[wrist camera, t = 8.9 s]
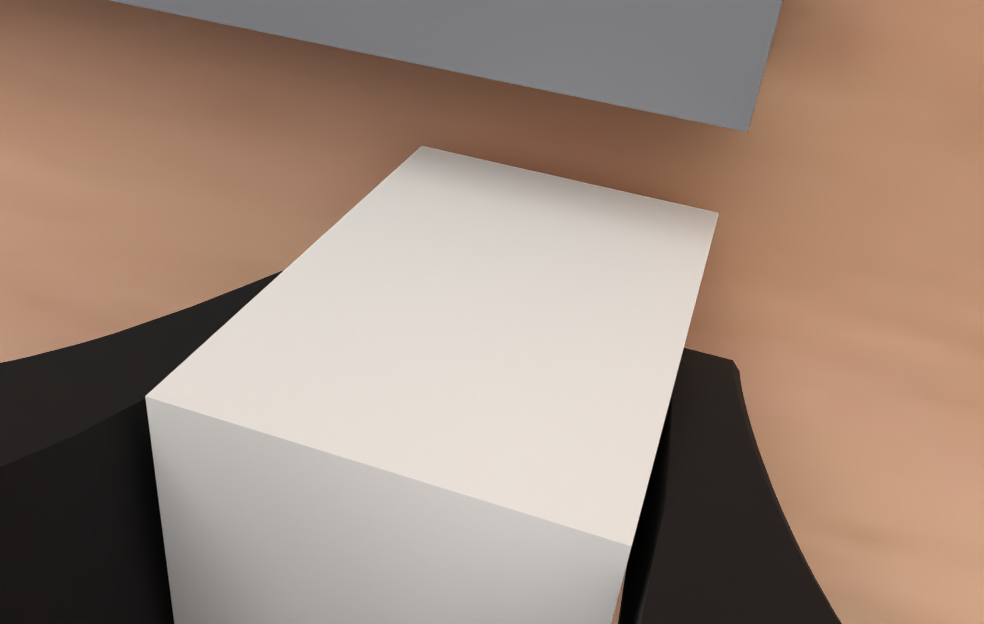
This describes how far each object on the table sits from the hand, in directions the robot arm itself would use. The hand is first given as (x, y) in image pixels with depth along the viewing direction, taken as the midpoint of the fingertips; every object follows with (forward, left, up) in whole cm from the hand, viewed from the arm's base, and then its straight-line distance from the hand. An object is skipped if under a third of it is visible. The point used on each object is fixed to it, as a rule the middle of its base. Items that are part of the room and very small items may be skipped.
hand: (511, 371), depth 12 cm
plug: (0, 0, -2) cm, 2 cm away
